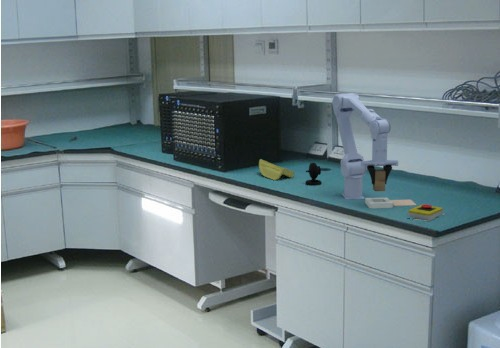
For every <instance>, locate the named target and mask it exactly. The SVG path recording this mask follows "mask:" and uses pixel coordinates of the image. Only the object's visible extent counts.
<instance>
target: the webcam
mask: <svg viewBox="0 0 500 348" xmlns="http://www.w3.org/2000/svg"><path fill="white" fill-rule="evenodd" d="M305 173H308V174H309V178H310V179H307V180H305V184H306V185H308V186H319V185H322V184H323V183H322V181H321V180H320V179H317V178H318V176H319V175H321V174H322V168H321V166H320V165H318V164H317V163H315V162H310V163H309V166H308V170H305Z"/></svg>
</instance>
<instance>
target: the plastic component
mask: <svg viewBox="0 0 500 348" xmlns="http://www.w3.org/2000/svg"><path fill="white" fill-rule="evenodd" d="M258 167H259V168H258V169H259V172H260V173H261V175H263V176H264V177H265V178H268V179H271V180H273V181H278V180H279V179H281V177H282V176H286V177H288V178H291V179H292V178H293V177H294V175H295V172H296V171H293V170H291V169H288V168H286V167H282V166H279V165H275V164H274V163H271V162H269V161H267V160H264V159H262V158H261V159H259V161H258Z"/></svg>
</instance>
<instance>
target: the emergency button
mask: <svg viewBox="0 0 500 348" xmlns="http://www.w3.org/2000/svg"><path fill="white" fill-rule="evenodd" d="M407 212H408V213H407V219H406V220H410V218H413V219H415V220H420V219H421V220H424V221H426V220H427V221H429V222H431V221H433V219H434V220H436V219H437V218H439V216H444V215H445V213H444V212H443V207H438V206H434V205H431V204H421V205H418V206H417V205H416V207H412V208H410V209H408V211H407ZM408 217H409V218H408ZM415 220H414V221H415Z"/></svg>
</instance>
